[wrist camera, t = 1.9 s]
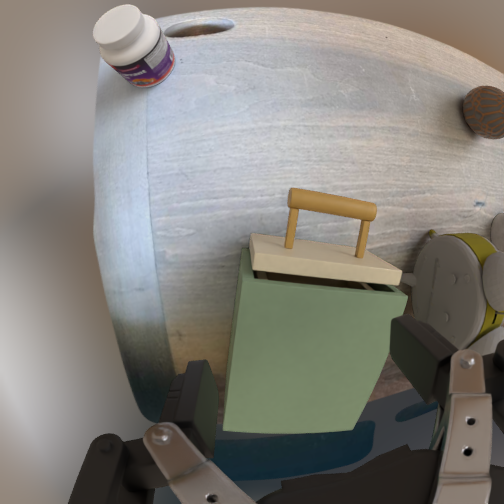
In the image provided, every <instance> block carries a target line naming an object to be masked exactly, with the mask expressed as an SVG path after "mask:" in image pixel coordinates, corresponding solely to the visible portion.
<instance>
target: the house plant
mask: <svg viewBox="0 0 504 504" xmlns="http://www.w3.org/2000/svg"><path fill="white" fill-rule="evenodd" d="M491 241H492V244H493V245H494V246H495V247H496V248H497V249H499V250H500V251H502V252H504V213H500V214H498V215H497V216H496V217H495V218H494V220H493V222H492V226H491Z"/></svg>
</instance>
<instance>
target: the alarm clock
mask: <svg viewBox="0 0 504 504" xmlns="http://www.w3.org/2000/svg"><path fill="white" fill-rule="evenodd" d="M429 235H430V238H431V240H430V241H429V242H428V243H427V244H426V245H425V246H424V247H423V249H422V250H421V252H420V253H419V255H418V258H417V260H416V263H415V267H414V271H413V273H402V275H401V279H400V282H403V283H405V284H408V285H410V286H411V299H412V307H413V313H414V317H415V320H416V321H422V322H424V323H427V324H429V325H431V326H432V327H433V328H434V329H435V330H436V331H438V332H439V333H440V334H441V336H444V337H445V338H446V339H447V340H448V341H449V342H451V343H452V344H453V345H454V346H455V347H456V348H457V349H459V350H463V349H471V350H474V351H476V352H478V353H479V354H480V355H481V356H483V355H487V354H491V353H495V350H496V346H497V344H498V343H499V342H500V341H501V340H504V328H503V327H501V325H502V323H503V322H504V252H499V251H498V250H497V249H496V247H495V246H494V245H493V244H492V243H491V242H490V241H489V240H487V239H486V238H484V237H482V236H480V235H477V234H472V233H457V234H444V235H440V236H438V235H437V233H436V232H435V231H434V230H430V231H429Z"/></svg>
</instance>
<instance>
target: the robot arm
mask: <svg viewBox="0 0 504 504" xmlns="http://www.w3.org/2000/svg"><path fill="white" fill-rule="evenodd" d="M389 348H390V354H391V357H392V359H393V361H394V362H395V363H396V365H397V366H398V367H399V368H400V370H401V371H402V372H403V374H404V375H405V376H406V377H407V379H408V380H409V381H410V383H411V384H412V385H413V387H414V388H415V389H416V390H417V392H418V393H419V394H420V396H421V397H422V398H423V400H424V401H425V402H426V404H427V405H428V404H430V403H432V402H434V401H436V400H437V401H438V403H439V405H438V408H437V413H436V419H435V425H434V430H433V435H432V440H431V443H430V447H429V449H420V450H412V451H411V450H410V448H409V446H408V445H407V444H406V445H404V446H401V447H399V448H396V449H394V450H392V451H389V452H387V453H384V454H381V455H379V456H377V457H376V458H374V459H372V460H371V461H369V462H367V463H365V464H364V465H362V466H360V467H358V468H357V469H355V470H353V471H351V472H347V473H336V474H318V475H310V476H305V477H301V478H295V479H290V480H283V481H281V485H282V489H279V490H277V491H274V492H272V493H270V494H268V495H266V496H264V497H263V498H261V499H260V500H258V501H257V502H254V501H253V500H252V499H251V498H250V497H249V496H248V495H246V494H245V493H244V492H243V491H242V490H241V489H240V488H238V486H236V485H235V484H234V483H233V482H232V481H231V480H230V479H229V478H228V477H227V476H226V475H225V474H224V473H223V472H222V471H221V470H220V469H219V468H218V467H217V466H216V465H215V464H214V463H213V462H212V461H211V460H209V459H208V460H207V459H206V458H214V446H215V435H216V424H217V413H218V403H219V394H218V389H217V385H216V383H215V380H214V377H213V374H212V371H211V369H210V366H209V363H208V361H207V360H198V361H189V362H188V365H187V369H186V372H185V373H184V374H178V376H177V377H176V378H175V379H174V380H173V381H172V383H171V386H170V389H169V392H168V395H167V399H166V402H165V405H164V408H163V411H162V414H161V418H160V421H159V423H158V424H155V425H153V426H152V427H150V428H149V429H148V430H147V431H146V432H145V434H144V437H143V438H140V439H136V440H131V441H126V442H123V441H122V440H121V438H120V437H119V436H117V435H115V434H103V435H101V436H99V437H97V438H96V439H95V440H93V442H92V443H91V445H90V448H89V450H88V452H87V455H86V457H85V460H84V462H83V465H82V467H81V470H80V472H79V475H78V477H77V480H76V483H75V485H74V488H73V491H72V494H71V496H70V499H69V502H68V504H153V499H154V493H155V488H159V487H164V486H170V488H171V489H172V490H173V491H174V493H175V494H176V496H177V497H178V498H179V500H180V501H181V502H182V504H504V467H500V466H495V465H491V464H490V457H491V444H492V419H493V420H494V421H495V423H496V424H497V426H498V427H499V428H500V430H501V431H502V432H503V434H504V340H501V341H500V342H499V343H498V344H497V346H496V350H495V353H491V354H487V355H483V356H481V355H480V354H479V353H478V352H476V351H474V350H471V349H463V350H459V349H457V348H456V347H455V346H454V345H453V344H452V343H451V342H449V341H448V340H447V339H446V338H445V337H444V336H441V334H440V333H439V332H438V331H436V330H435V329H434V328H433V327H432V326H431V325H429V324H427V323H424V322H422V321H416V320H415V319H414V318H413V317H412V316H410V315H409V314H404V315H401V316H398V317H395V318H393V319H392V320H391V328H390V347H389Z"/></svg>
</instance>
